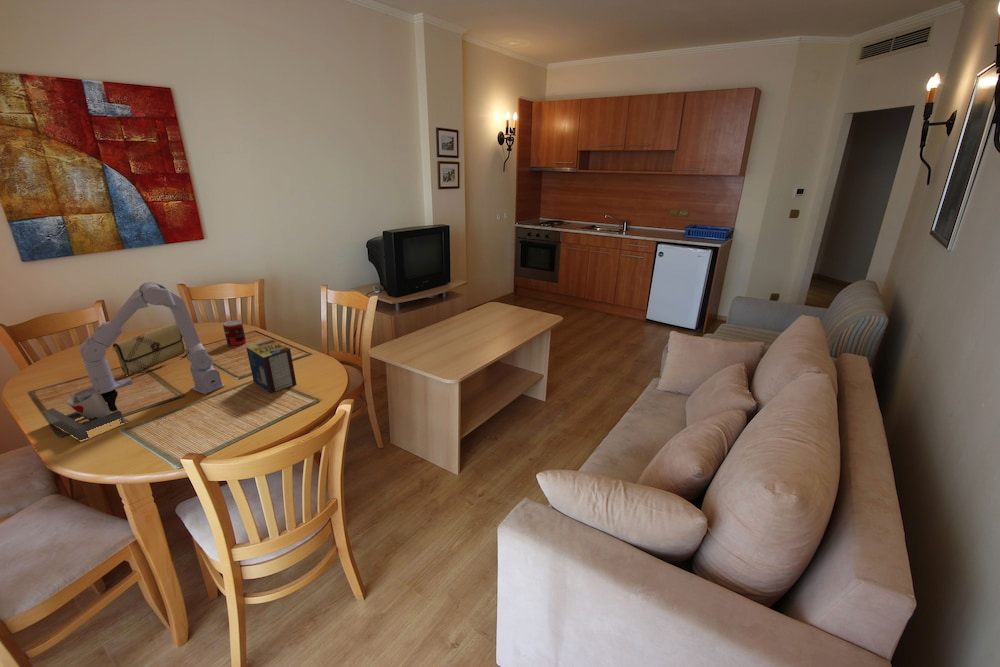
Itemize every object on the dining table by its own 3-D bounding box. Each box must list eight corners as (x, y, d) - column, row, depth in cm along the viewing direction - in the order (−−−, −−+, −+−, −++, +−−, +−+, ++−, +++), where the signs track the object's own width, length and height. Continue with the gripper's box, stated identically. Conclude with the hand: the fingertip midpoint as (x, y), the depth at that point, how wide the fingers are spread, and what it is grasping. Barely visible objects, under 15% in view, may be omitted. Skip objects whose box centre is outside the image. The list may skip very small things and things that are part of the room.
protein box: (279, 373, 182) (272, 339, 176) (297, 384, 172) (290, 348, 167) (252, 382, 174) (245, 346, 168) (270, 394, 165) (263, 357, 159)
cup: (83, 422, 146) (62, 400, 140) (108, 405, 152) (89, 384, 146) (94, 428, 143) (73, 407, 137) (120, 411, 148) (101, 390, 143)
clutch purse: (132, 380, 174) (121, 346, 168) (119, 378, 175) (107, 344, 170) (197, 352, 201) (189, 321, 195) (185, 350, 202) (177, 320, 197)
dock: (130, 422, 146) (125, 409, 144) (81, 442, 135) (76, 429, 133) (98, 406, 155) (93, 393, 153) (50, 423, 144) (44, 410, 142)
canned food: (229, 341, 213) (225, 320, 209) (248, 340, 215) (243, 319, 211) (225, 347, 206) (220, 326, 202) (244, 346, 208) (239, 324, 204)
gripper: (120, 365, 153) (131, 398, 158) (67, 381, 141) (81, 417, 146) (130, 369, 150) (142, 403, 155) (77, 386, 138) (91, 423, 143)
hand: (113, 410), depth 150 cm, fingers closed, pressing on cup
